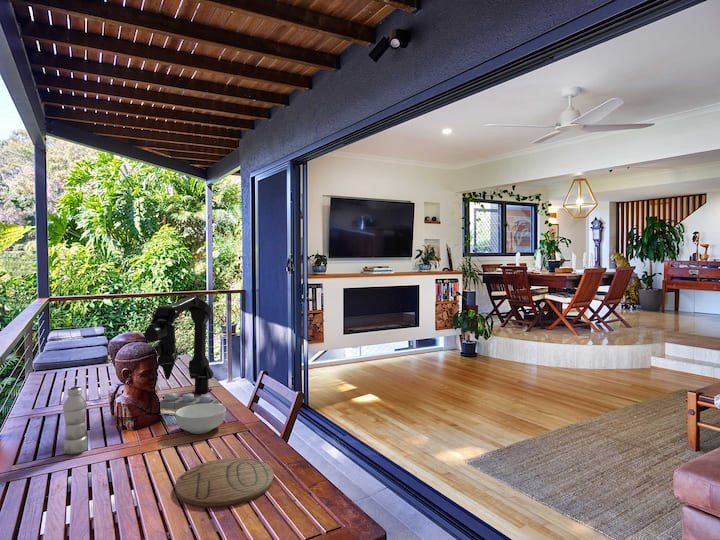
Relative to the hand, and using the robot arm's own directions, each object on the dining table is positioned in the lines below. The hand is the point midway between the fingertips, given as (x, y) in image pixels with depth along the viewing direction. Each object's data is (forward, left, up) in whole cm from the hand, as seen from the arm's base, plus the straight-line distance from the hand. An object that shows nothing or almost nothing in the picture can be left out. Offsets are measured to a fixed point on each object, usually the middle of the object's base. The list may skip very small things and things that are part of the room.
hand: (168, 376), depth 185 cm
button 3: (-2, +15, -11) cm, 18 cm away
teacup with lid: (-11, -18, -13) cm, 25 cm away
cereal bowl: (+18, +24, -13) cm, 33 cm away
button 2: (-2, +7, -11) cm, 13 cm away
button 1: (-2, 0, -11) cm, 11 cm away
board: (-1, +7, -13) cm, 15 cm away
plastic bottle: (+43, -4, -13) cm, 45 cm away
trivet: (+53, +51, -14) cm, 75 cm away
